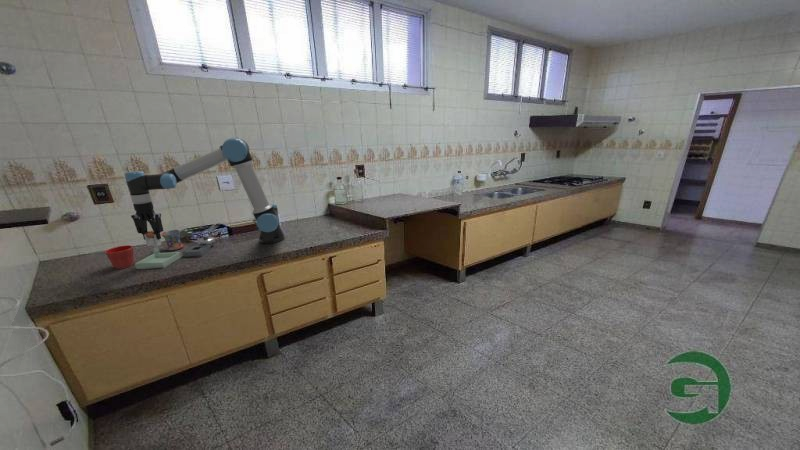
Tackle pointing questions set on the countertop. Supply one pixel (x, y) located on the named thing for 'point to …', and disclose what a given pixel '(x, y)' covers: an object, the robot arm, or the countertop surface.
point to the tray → (158, 260)
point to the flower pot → (121, 256)
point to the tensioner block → (199, 247)
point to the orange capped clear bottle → (153, 242)
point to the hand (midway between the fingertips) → (154, 245)
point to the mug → (172, 239)
